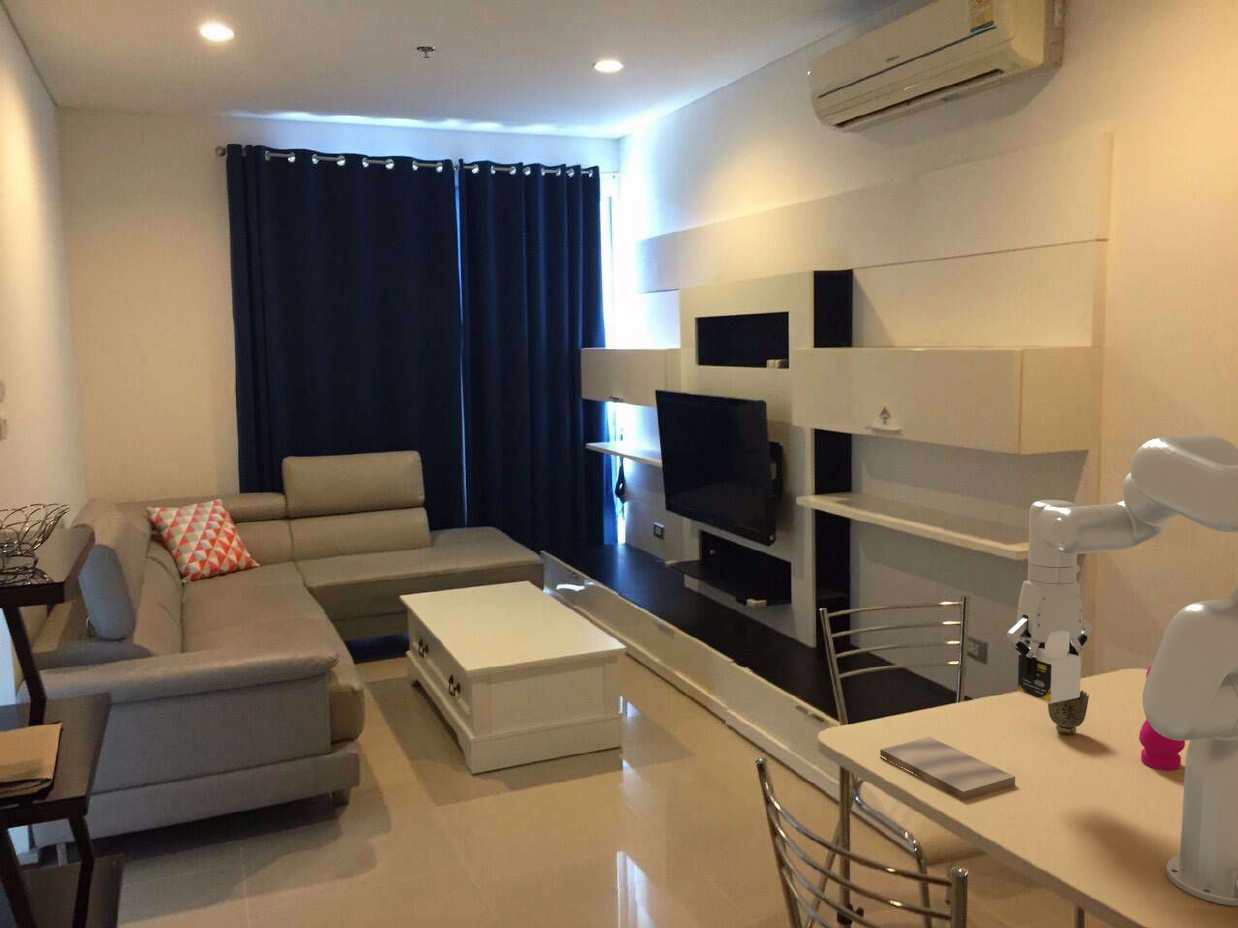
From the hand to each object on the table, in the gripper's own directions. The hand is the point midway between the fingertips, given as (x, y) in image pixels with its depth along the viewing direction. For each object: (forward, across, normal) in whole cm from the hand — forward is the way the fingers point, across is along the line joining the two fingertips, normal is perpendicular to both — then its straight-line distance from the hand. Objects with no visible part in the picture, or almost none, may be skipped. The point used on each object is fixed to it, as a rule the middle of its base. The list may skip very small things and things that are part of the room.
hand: (1049, 675), depth 176 cm
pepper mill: (+19, -24, 0) cm, 30 cm away
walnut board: (+18, +14, -9) cm, 25 cm away
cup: (+18, -18, -17) cm, 31 cm away
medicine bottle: (+4, 0, 0) cm, 4 cm away
